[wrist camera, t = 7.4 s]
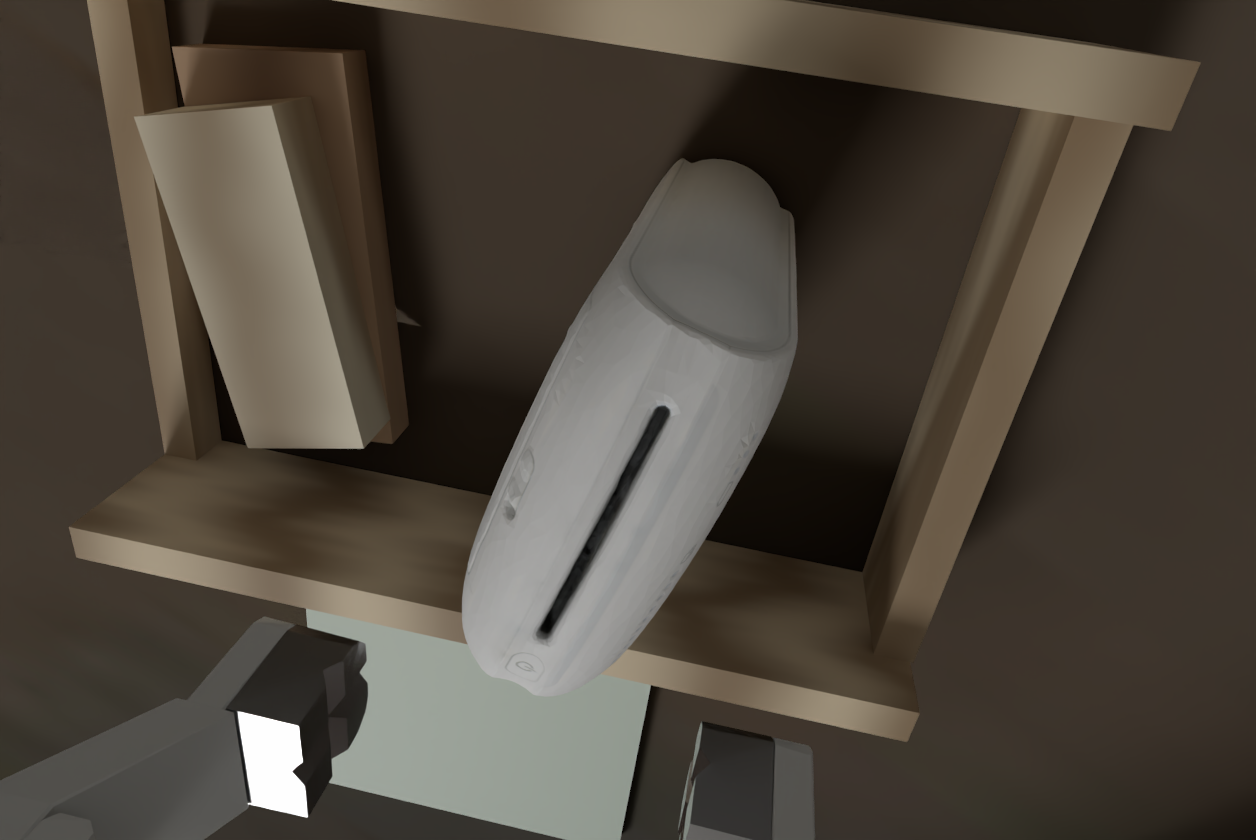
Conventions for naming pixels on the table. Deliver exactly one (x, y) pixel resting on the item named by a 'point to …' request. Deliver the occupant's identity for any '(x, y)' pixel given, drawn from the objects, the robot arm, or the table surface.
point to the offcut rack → (719, 573)
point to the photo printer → (636, 431)
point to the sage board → (488, 737)
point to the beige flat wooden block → (350, 159)
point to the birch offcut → (270, 269)
